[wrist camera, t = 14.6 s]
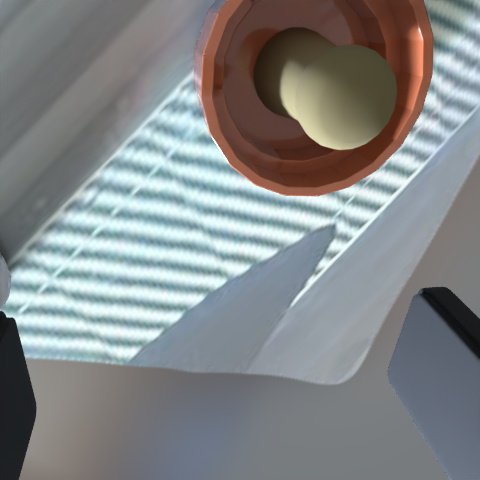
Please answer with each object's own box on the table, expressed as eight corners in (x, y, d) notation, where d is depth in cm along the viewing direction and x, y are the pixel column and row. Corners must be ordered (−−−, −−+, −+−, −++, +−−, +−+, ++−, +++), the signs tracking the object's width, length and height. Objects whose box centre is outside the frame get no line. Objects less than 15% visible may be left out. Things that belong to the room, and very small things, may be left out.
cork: (247, 36, 28) (293, 51, 18) (333, 18, 28) (421, 25, 19) (259, 124, 31) (304, 176, 21) (336, 108, 31) (414, 151, 22)
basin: (198, -63, 25) (209, -81, 20) (410, -32, 28) (467, -41, 23) (189, 163, 32) (195, 193, 27) (360, 170, 35) (395, 198, 30)
